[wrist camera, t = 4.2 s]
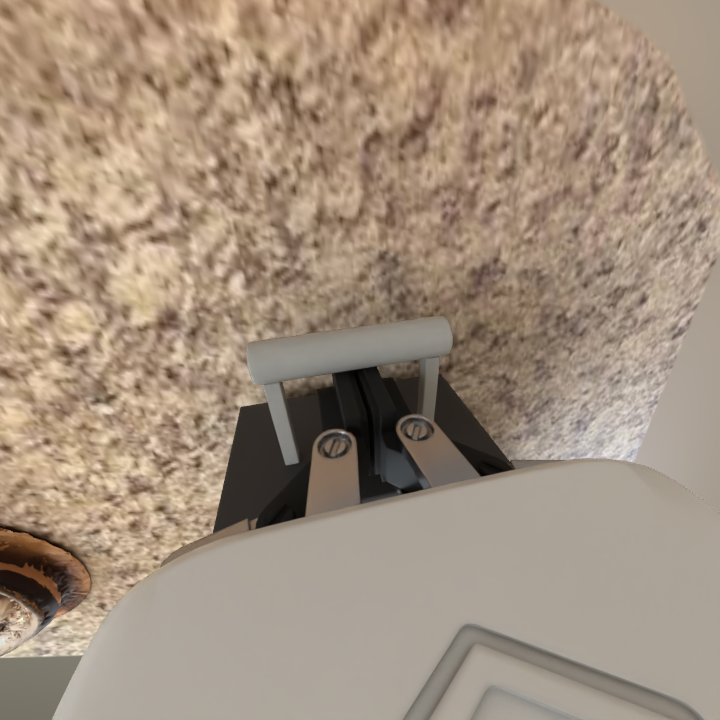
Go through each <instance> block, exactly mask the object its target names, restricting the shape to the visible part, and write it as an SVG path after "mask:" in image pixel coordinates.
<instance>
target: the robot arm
mask: <svg viewBox="0 0 720 720" xmlns="http://www.w3.org/2000/svg"><path fill="white" fill-rule="evenodd" d="M332 376H333V384H334V387H328V388H322V389H317V393H318V400H319V408H320V416H321V423H322V431H323V433H322V434H320V435H319V436H318V437H317V438H316V440H315V441H314V444H313V450H312V459H311V460H310V461H309V462H308V463H307V464H306V465H305V466H304V467H303V468H302V469H301V471H300V472H299V473H298V474H297V475H296V476H295V477H294V478H293V479H292V480H291V481H290V482H289V483H288V484H287V485H286V486H285V487H284V488H283V489H282V490H281V492H280V493H279V494H278V495H277V496H276V497H275V498H274V499H273V500H272V501H271V502H270V503H269V504H268V505H267V506H266V507H265V508H264V510H263V511H262V512H261V514H260V515H259V517H258V518H256V519H254V520H251V521H249V520H248V518H247V519H245V520H243V521H240V522H238V523H236V524H234V525H231V526H229V527H227V528H224V529H222V530H220V531H218V532H215V533H213V534H211V535H208V536H206V537H204V538H202V539H199V540H197V541H195V542H193V543H190V544H188V545H186V546H183V547H181V548H180V549H178V550H176V551H175V552H173V553H172V554H171V555H170V556H169V557H168V558H167V559H165V560H164V561H163V563H162V565H161V566H160V568H159V569H157V570H156V571H154V572H153V573H151V574H150V575H148V576H147V577H145V578H144V579H143V580H141V581H140V582H139V583H138V584H136V585H135V586H134V587H133V588H131V589H130V590H129V591H128V592H127V593H126V594H125V595H124V596H123V597H122V598H121V599H120V600H119V601H118V602H117V604H116V605H115V606H114V607H113V608H112V610H111V611H110V612H109V614H108V615H107V616H106V618H105V619H104V621H103V622H102V624H101V625H100V627H99V629H98V630H97V632H96V633H95V635H94V637H93V639H92V640H91V642H90V644H89V646H88V648H87V649H86V651H85V653H84V655H83V657H82V659H81V661H80V663H79V665H78V667H77V669H76V670H75V672H74V674H73V677H72V679H71V681H70V683H69V685H68V687H67V689H66V691H65V693H64V695H63V697H62V699H61V701H60V703H59V706H58V708H57V710H56V712H55V714H54V716H53V719H52V720H720V512H719V511H718V510H716V509H715V508H713V507H712V506H711V505H710V504H708V503H707V502H705V501H704V500H703V499H701V498H700V497H698V496H696V495H695V494H694V493H693V492H691V491H690V490H688V489H687V488H685V487H684V486H682V485H681V484H679V483H678V482H676V481H675V480H673V479H671V478H669V477H668V476H666V475H664V474H663V473H660V472H659V471H657V470H655V469H652V468H649V467H647V466H644V465H640V464H636V463H632V462H627V461H621V460H612V459H592V458H585V459H573V460H511V461H510V463H506V462H505V461H503V460H501V459H499V458H497V457H494V456H492V455H489V454H487V453H484V452H481V451H479V450H476V449H474V448H471V447H469V446H466V445H463V444H461V443H458V442H456V441H453V440H451V439H449V438H448V437H447V436H446V435H445V434H444V432H443V431H442V430H441V429H440V428H439V426H438V425H437V424H436V423H435V422H434V421H433V420H432V419H430V418H428V417H426V416H424V415H420V414H412V413H411V411H410V410H409V408H408V406H407V404H406V402H405V400H404V398H403V396H402V394H401V393H400V391H399V389H398V387H397V385H396V383H395V381H394V379H393V378H392V377H388V378H381V376H380V373H379V371H378V369H377V367H376V366H375V367H369V368H363V369H356V370H350V371H344V372H337V373H332ZM370 460H371V463H372V466H373V470H374V473H375V475H376V474H380V476H381V479H382V482H386V481H387V482H389V483H391V484H393V485H395V489H396V492H397V495H398V496H394V497H390V498H385V499H381V500H377V501H372V502H368V503H363V504H362V497H361V496H362V495H363V494H364V492H365V491H366V489H367V488H368V486H369V476H371V463H370Z"/></svg>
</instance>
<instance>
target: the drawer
mask: <svg viewBox="0 0 720 720" xmlns="http://www.w3.org/2000/svg"><path fill="white" fill-rule="evenodd" d="M452 345H453V334H452V329H451V326H450V323H449V321H448V320H447V319H446V318H445V317H444V316H433V317H426V318H419V319H412V320H404V321H397V322H390V323H383V324H376V325H368V326H361V327H354V328H347V329H340V330H332V331H325V332H318V333H311V334H303V335H296V336H289V337H282V338H275V339H267V340H260V341H253V342H250V343H248V345H247V364H248V369H249V373H250V376H251V379H252V381H253V383H254V384H255V385H262V384H263V388H264V391H265V395H266V398H267V402H268V403H262V404H256V405H250V406H244V407H241V408H240V413H239V417H238V422H237V426H236V431H235V435H234V440H233V444H232V449H231V453H230V458H229V463H228V467H227V472H226V476H225V481H224V485H223V490H222V494H221V499H220V503H219V508H218V512H217V517H216V521H215V526H214V530H213V533H215V532H218V531H220V530H222V529H224V528H227V527H229V526H231V525H234V524H236V523H238V522H240V521H243V520H245V519H247V518H248V520H249V521H251V520H254V519H256V518H258V517H259V515H260V514H261V512H262V511H263V510H264V508H265V507H266V506H267V505H268V504H269V503H270V502H271V501H272V500H273V499H274V498H275V497H276V496H277V495H278V494H279V493H280V492H281V490H282V489H283V488H284V487H285V486H286V485H287V484H288V483H289V482H290V481H291V480H292V479H293V478H294V477H295V476H296V475H297V474H298V473H299V472H300V471H301V469H302V468H303V467H304V466H305V465H306V464H307V463H308V462H309V461H310V460H311V459H312V450H313V444H314V441H315V440H316V438H317V437H318V436H319V435H320V434H322V433H323V431H322V423H321V416H320V408H319V400H318V394H316V395H310V396H304V397H298V398H292V399H286V395H285V391H284V387H283V383H282V381H287V380H294V379H300V378H306V377H312V376H319V375H325V374H331V373H337V372H344V371H350V370H356V369H363V368H369V367H375V366H381V365H388V364H394V363H400V362H406V361H413V360H419V359H420V373H419V377H416V378H411V379H405V380H399V381H395V383H396V385H397V387H398V389H399V391H400V393H401V394H402V396H403V398H404V400H405V402H406V404H407V406H408V408H409V410H410V411H411V413H412V414H420V415H424V416H426V417H428V418H430V419H432V420H433V421H434V422H435V423H436V424H437V425H438V426H439V428H440V429H441V430H442V431H443V432H444V434H445V435H446V436H447V437H448V438H449V439H451V440H453V441H456V442H458V443H461V444H463V445H466V446H469V447H471V448H474V449H476V450H479V451H481V452H484V453H487V454H489V455H492V456H494V457H497V458H499V459H501V460H503V461H505V462H506V463H510V461H509V460H508V459H507V458H506V456H505V455H504V454H503V453H502V451H501V450H500V449H499V448H498V446H497V445H496V444H495V442H494V441H493V440H492V439H491V437H490V436H489V435H488V434H487V432H486V431H485V430H484V428H483V427H482V426H481V425H480V423H479V422H478V421H477V420H476V418H475V417H474V416H473V415H472V413H471V412H470V411H469V409H468V408H467V407H466V406H465V404H464V403H463V402H462V401H461V399H460V398H459V397H458V396H457V394H456V393H455V392H454V390H453V389H452V388H451V387H450V385H449V384H448V383H447V382H446V380H445V379H444V378H443V376H442V375H441V374H438V373H439V364H440V357H439V356H444V355H447V354H449V353H450V351H451V349H452ZM370 463H371V460H370ZM394 496H398V495H397V492H396V489H395V485H393V484H391V483H389V482H387V481H386V482H382V479H381V476H380V474H376V475H375V473H374V470H373V466H372V463H371V476H369V486H368V488H367V489H366V491H365V492H364V494H363V495H362V496H361V497H362V504H363V503H368V502H372V501H377V500H381V499H385V498H390V497H394Z"/></svg>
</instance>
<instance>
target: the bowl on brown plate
mask: <svg viewBox="0 0 720 720" xmlns="http://www.w3.org/2000/svg"><path fill="white" fill-rule="evenodd" d="M2 530H4V531H2ZM70 554H71V553H69V552H66V551H64V550H62V549H61V548H58V547H56V546H52V545H50V544H49V543H47V542H46V541H44V540H38V539H36V538H33V536H31V535H28V534H27V533H17V532H12V531H11V530H6V529H1V528H0V656H3V655H4V654H7V653H10V652H11V651H13V650H14V649H16V648H18V647H19V646H20V645H22V644H23V643H25V642H27V641H28V640H29V639H31V638H32V637H34V636H35V635H36V634H38V633H39V632H40V631H41V630H42V629H43V628H45V627H46V626H47V625H48V624H49V623H50V622H51V621H52V620H53V619H54V618H56V617H58V616H60V615H63V614H65V613H67V612H69V611H71V610H72V609H74V608H75V607H76V606H78V605H79V604H80V603H81V602H82V601H83V600H84V599H85V597H86V596H87V594H88V592H89V590H90V584H91V583H90V582H91V581H90V576H89V575H88V572H87V570H86V568H85V567H83V565H82V563H81V562H80V561H79V560H77V559H76V558H75V557H73V556H71V555H70Z"/></svg>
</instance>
